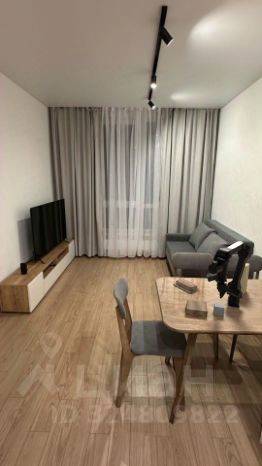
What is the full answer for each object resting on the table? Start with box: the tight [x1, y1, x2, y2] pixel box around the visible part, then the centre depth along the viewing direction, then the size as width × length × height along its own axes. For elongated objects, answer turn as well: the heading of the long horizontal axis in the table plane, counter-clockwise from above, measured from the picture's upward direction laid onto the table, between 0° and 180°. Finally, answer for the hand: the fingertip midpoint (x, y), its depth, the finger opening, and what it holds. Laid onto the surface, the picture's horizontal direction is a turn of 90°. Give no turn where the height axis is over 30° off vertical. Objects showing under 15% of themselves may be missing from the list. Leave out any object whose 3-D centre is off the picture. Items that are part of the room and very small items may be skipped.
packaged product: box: [172, 277, 200, 294], centre depth 188 cm, size 18×5×10 cm
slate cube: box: [212, 302, 226, 317], centre depth 152 cm, size 6×6×6 cm
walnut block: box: [185, 299, 209, 318], centre depth 154 cm, size 12×12×4 cm
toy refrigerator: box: [240, 262, 250, 295], centre depth 181 cm, size 8×7×21 cm
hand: (219, 294), depth 150 cm, fingers open, 9 cm apart
